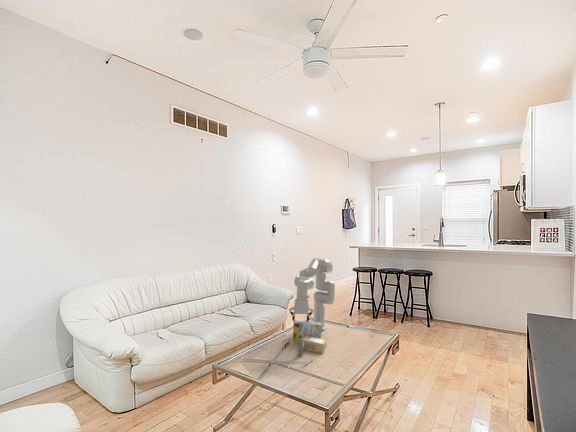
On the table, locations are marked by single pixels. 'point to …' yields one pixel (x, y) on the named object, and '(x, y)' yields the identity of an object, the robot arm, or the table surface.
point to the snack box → (306, 330)
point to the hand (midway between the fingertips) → (300, 321)
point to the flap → (301, 347)
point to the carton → (314, 344)
